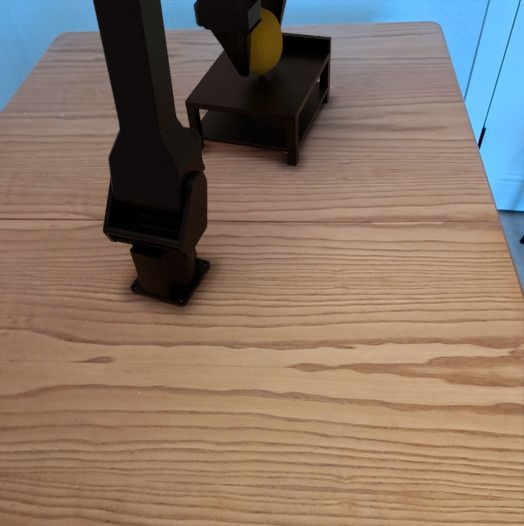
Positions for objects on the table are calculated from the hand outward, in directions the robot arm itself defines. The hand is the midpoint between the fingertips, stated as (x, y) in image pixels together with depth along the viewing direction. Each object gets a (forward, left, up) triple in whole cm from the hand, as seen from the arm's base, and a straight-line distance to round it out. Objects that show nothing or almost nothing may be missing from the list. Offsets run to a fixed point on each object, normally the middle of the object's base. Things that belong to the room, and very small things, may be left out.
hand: (259, 57), depth 70 cm
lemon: (0, 0, -2) cm, 2 cm away
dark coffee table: (0, 0, -9) cm, 9 cm away
